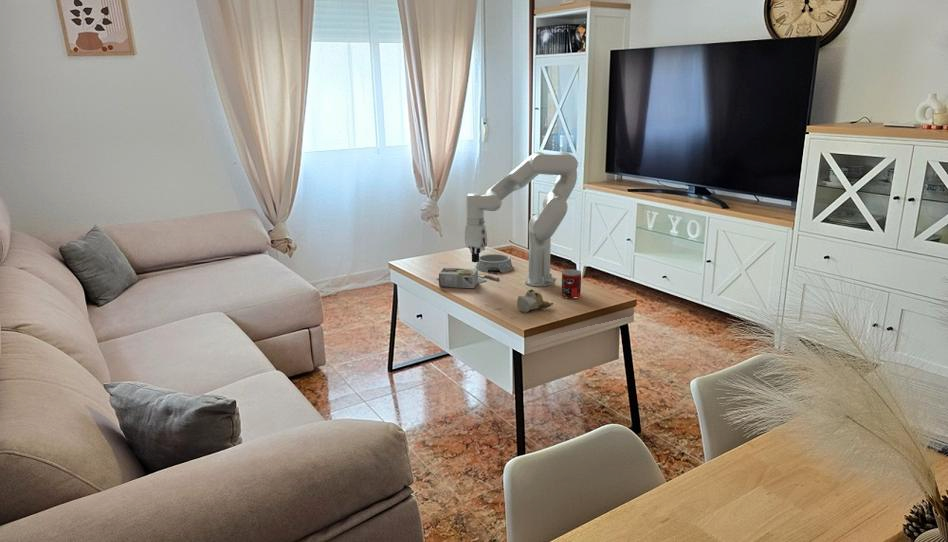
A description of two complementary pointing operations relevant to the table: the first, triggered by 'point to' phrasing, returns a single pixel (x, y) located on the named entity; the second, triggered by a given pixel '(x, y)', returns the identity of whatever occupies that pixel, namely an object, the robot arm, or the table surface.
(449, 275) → the coffee box
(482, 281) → the mat
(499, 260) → the dog bowl
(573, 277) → the canned food
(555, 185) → the robot arm
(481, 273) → the turner
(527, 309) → the ceramic sculpture
